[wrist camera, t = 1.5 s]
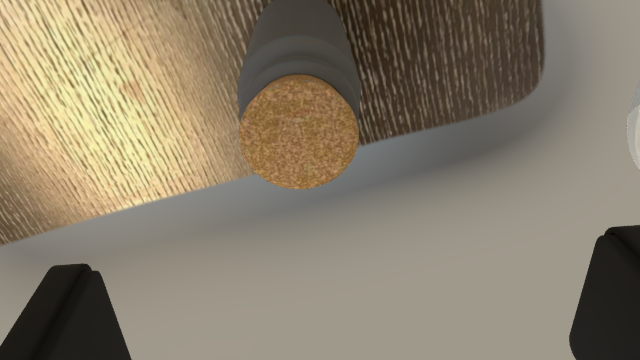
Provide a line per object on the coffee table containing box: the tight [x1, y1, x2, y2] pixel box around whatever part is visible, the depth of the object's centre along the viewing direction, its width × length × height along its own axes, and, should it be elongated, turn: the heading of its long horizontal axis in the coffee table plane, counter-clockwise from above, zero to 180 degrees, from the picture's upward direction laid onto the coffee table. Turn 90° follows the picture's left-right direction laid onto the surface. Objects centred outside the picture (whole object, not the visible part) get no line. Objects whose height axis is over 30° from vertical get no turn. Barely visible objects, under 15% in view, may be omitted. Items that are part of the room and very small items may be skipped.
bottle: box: [237, 0, 361, 189], centre depth 26 cm, size 6×6×15 cm
